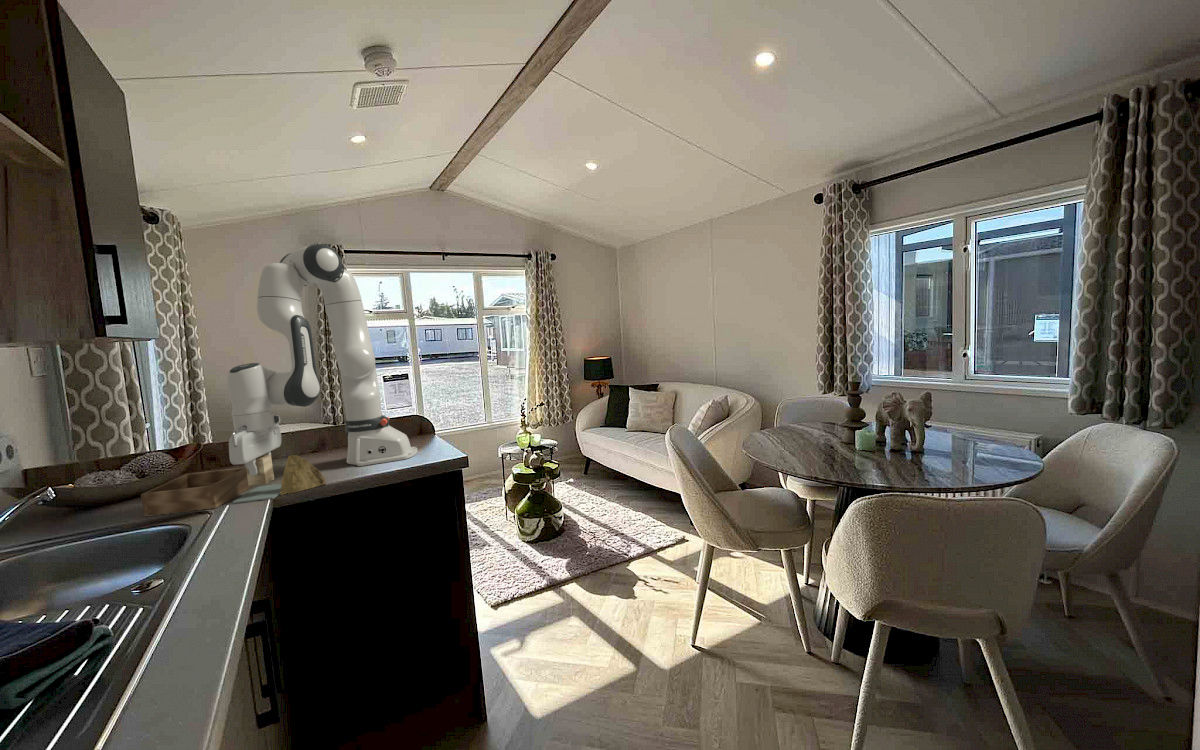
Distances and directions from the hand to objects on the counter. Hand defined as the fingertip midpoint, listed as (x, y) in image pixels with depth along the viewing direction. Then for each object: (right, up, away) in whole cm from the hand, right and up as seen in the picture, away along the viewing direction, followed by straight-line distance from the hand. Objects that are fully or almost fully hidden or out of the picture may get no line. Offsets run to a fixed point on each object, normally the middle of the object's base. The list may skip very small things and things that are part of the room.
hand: (260, 471), depth 140 cm
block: (0, -3, 0) cm, 3 cm away
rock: (+11, -6, +2) cm, 13 cm away
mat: (+1, -6, +1) cm, 6 cm away
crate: (-15, -8, -2) cm, 17 cm away
